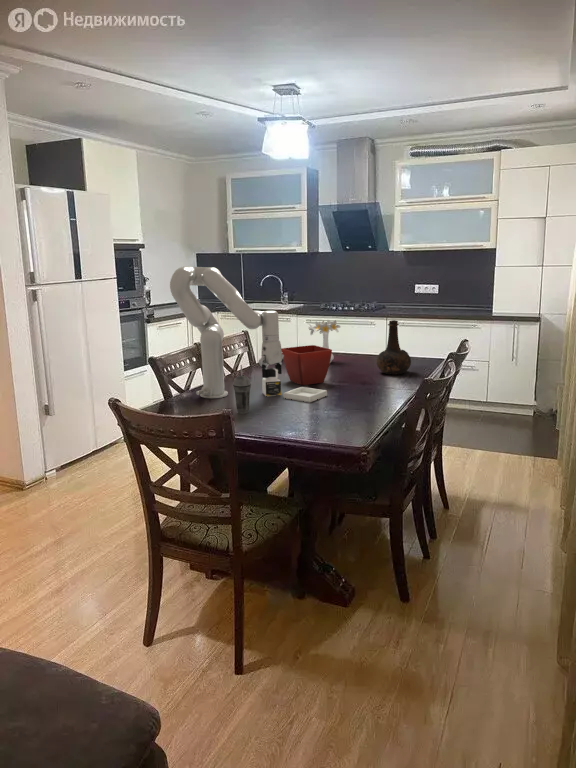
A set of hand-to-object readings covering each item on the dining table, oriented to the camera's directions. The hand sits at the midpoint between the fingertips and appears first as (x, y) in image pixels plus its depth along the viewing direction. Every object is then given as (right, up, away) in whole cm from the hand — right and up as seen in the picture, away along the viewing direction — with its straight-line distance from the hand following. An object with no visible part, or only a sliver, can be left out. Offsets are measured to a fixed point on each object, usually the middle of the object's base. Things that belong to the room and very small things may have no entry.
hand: (272, 375), depth 265 cm
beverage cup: (-11, -16, -28) cm, 34 cm away
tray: (+15, -10, -4) cm, 18 cm away
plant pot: (+17, -3, +26) cm, 31 cm away
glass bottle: (+63, +2, +44) cm, 77 cm away
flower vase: (+29, +8, +75) cm, 81 cm away
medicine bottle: (0, -9, +2) cm, 9 cm away
